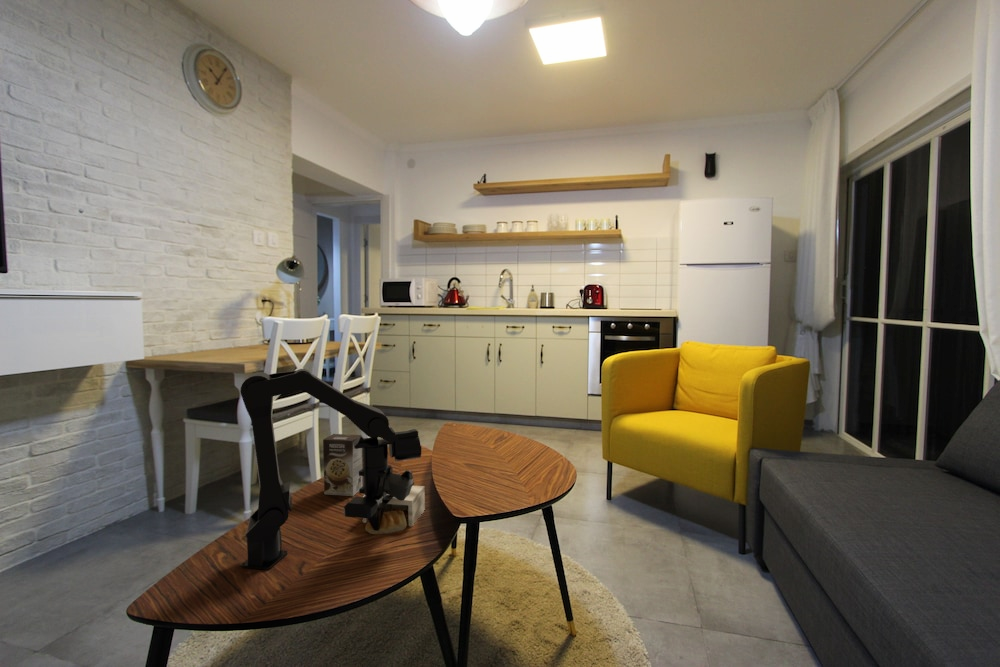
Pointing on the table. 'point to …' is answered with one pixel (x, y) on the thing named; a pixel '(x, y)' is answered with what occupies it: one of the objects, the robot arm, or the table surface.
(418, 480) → the table surface
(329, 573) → the table surface
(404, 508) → the plain beige box
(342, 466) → the coffee box
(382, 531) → the pastry
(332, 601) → the table surface
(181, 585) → the table surface
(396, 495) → the robot arm
